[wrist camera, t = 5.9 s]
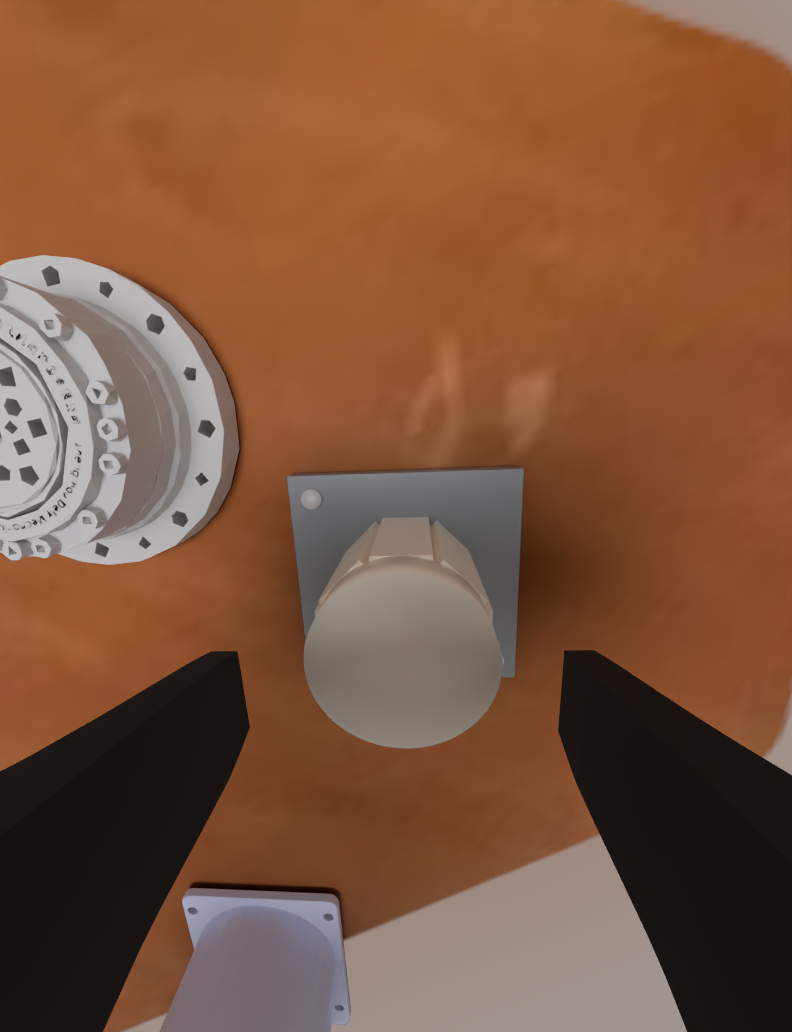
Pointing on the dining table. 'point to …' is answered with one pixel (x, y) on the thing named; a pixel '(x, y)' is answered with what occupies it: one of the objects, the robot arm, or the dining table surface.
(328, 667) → the wire nut
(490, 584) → the plate
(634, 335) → the dining table surface
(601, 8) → the dining table surface
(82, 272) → the mechanical component
